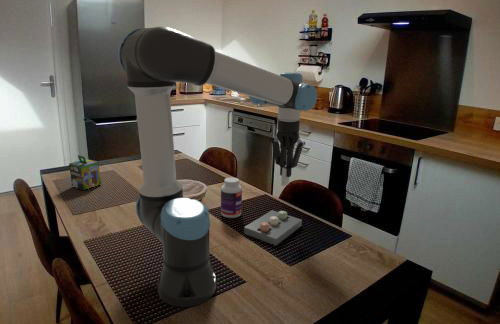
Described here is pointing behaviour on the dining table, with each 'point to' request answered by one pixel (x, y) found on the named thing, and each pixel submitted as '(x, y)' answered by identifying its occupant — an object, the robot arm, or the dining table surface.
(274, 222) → the cream button
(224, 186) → the pill bottle
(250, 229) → the panel
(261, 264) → the dining table surface
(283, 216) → the sage button
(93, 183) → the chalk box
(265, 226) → the terracotta button
